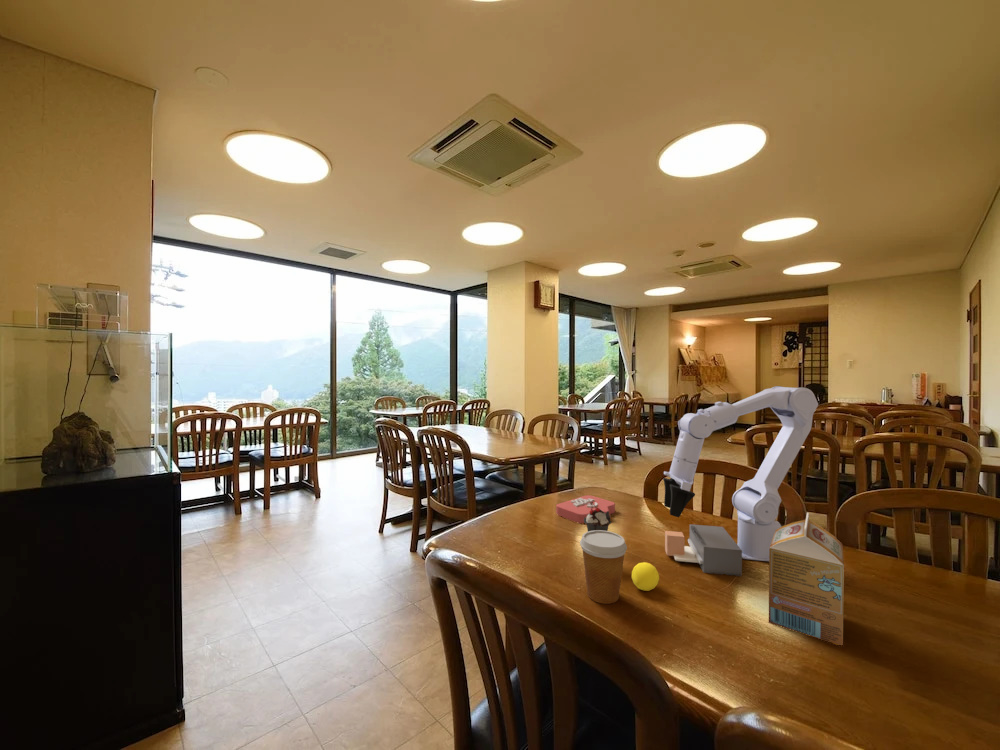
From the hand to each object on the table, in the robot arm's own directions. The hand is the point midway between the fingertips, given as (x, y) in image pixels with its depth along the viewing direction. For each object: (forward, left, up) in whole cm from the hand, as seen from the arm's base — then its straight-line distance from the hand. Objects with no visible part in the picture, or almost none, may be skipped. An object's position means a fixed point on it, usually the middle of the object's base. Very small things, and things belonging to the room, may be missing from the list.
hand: (671, 511), depth 103 cm
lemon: (+8, +18, -11) cm, 23 cm away
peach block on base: (-5, +1, -10) cm, 12 cm away
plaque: (+21, -25, -12) cm, 35 cm away
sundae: (+18, +8, -11) cm, 23 cm away
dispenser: (-10, +1, -11) cm, 15 cm away
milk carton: (-20, +23, -11) cm, 32 cm away
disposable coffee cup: (+17, +23, -11) cm, 31 cm away
